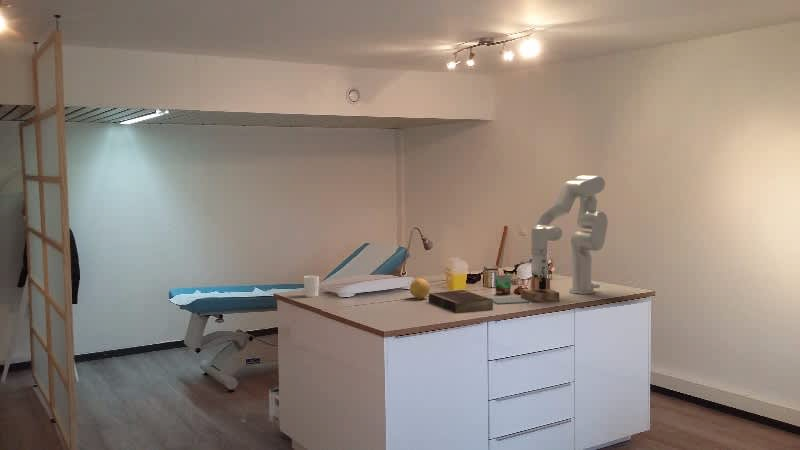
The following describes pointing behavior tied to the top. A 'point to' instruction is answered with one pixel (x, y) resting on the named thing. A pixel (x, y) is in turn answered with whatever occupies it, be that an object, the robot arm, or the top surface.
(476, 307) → the hardback book
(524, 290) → the stand
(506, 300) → the mat
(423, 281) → the stress ball
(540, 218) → the robot arm
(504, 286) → the food container
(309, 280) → the white cup
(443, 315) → the top surface
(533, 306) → the top surface
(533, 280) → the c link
